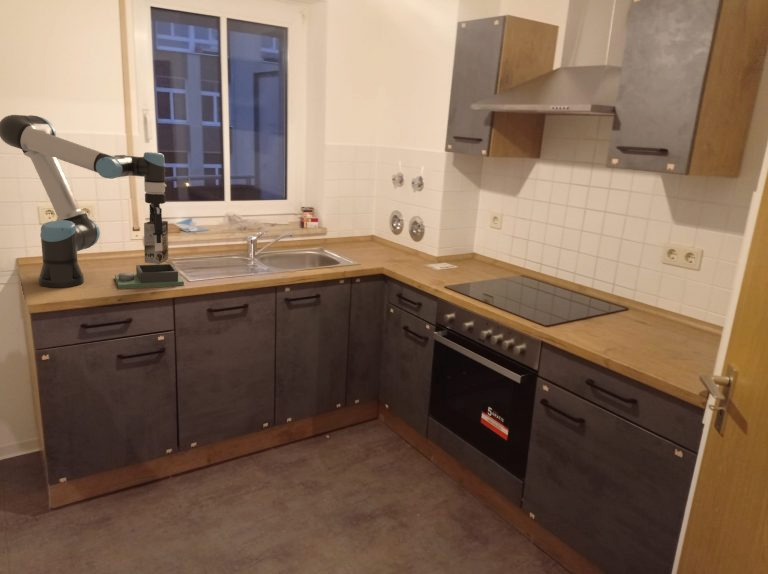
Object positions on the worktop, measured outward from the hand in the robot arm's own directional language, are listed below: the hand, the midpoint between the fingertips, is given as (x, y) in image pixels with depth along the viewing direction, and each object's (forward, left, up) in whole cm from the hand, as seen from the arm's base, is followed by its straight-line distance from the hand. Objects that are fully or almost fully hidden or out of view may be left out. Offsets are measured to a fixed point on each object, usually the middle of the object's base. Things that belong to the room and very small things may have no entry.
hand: (156, 247), depth 230 cm
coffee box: (0, 0, -6) cm, 6 cm away
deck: (-3, 0, -14) cm, 14 cm away
